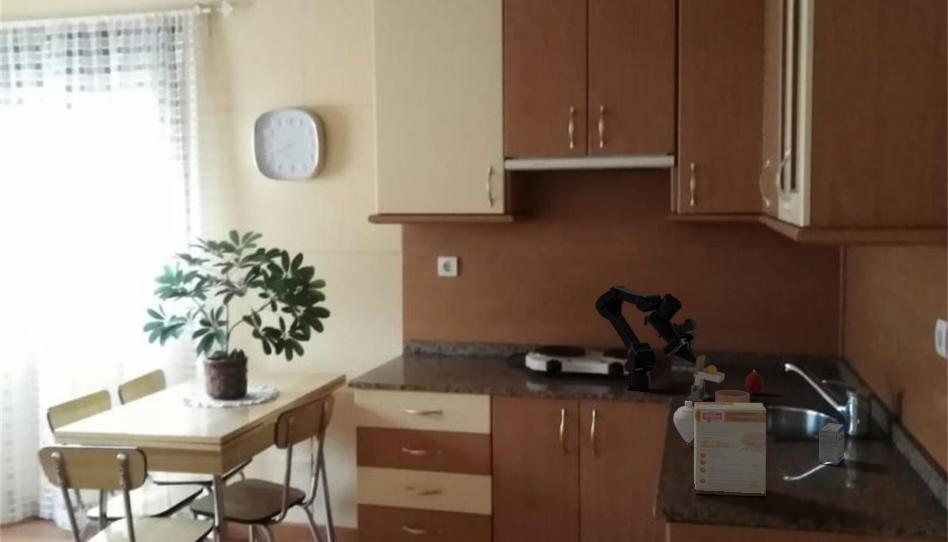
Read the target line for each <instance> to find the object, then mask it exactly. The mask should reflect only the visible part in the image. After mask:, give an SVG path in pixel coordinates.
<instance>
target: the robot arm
mask: <svg viewBox="0 0 948 542" xmlns="http://www.w3.org/2000/svg"><path fill="white" fill-rule="evenodd" d="M625 302H627V303H628V304H632V305H634V306H635V308H636V309H637V310H638V311H640V312H641V313H650V314H649V315H648V314H647V315H646V316H644V318H643V320H644V322H643V325H644V326H645V327H646V326H648V325H650V326H651V327H652V328H653V329H654V330H655V331H656V333H657V334H659V335H658V338H659V339H663V340H664V341H665V342H666V344H665V345H664V346H663V347H662V353H663V355H665V357H669V356H670V355H671V353H672V352H673V351H675V352H674V353H673V356H676V357H679V358H681V359H683V360H685V361H688V362H690V363H692V364H694V365H696V360H697V357H698V356H697V354H696V353H695V351H694V350H693V346H692V345H693V342H694V340H695V339H696V338H697V337H698V336H697V335H696V333H694V330H696V329H698V326H697V323H698V322H697V321H696V320H695V319H693V318H692V317H689V318H686V319H684V323H681V324H678V323H677V322H672V319H674V317H675V316H676V315H677V313H679V311H680V310H681V309H682V305H683V304H682V302H681V301H680V300H679V299H678V298H677V297H676V296H673V295H672V293H665V294H664V295H663V298H662V296H661V295H660V294H656V293H642V292H639V291H637V290H634V289H630V288H628V287H626V286H623V285H618V286H617V285H615V286H612V287H611V288H609V290H608V291H606V292H605V293H603V294H601V295H600V296H599V297H598V298H597V300H596V301H595V304H594V306H595V309H596V311H597V313H598V314H599V315H600V316H601V317H602V318H603V319H606V320H607V321H609V322H610V324H611V325H612V327H613V328H614V331H615V332H616V334H617V335H618V337H619V338H620V340H621V341H622V343H623V344H624V346H625V348H626V349H627V356H626V357H627V360H626V361H625V363H624V364H623V367H624V371H625V372H627V373H628V387H627V388H626V390H627V391H635V392H636V391H637V392H638V391H639V392H646V391H648V390H650V389H651V388H652V386H651V385H652V379H651V378H652V377H651V375H650V372H654V369H655V366H656V362H657V361H656V360H657V358H656V354H655V352H654V351H655V350H654V349H653V348H652V347H651V345H650V343H649V342H641V341H640V340H639V338H638V336H637V334H636V333H635V331H634V329H632V327H631V326H630V324H629V323H628V321H627V319H626V317H625V316H624V315H623V313H622V311H623V304H625Z"/></svg>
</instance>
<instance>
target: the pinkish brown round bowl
mask: <svg viewBox="0 0 948 542" xmlns="http://www.w3.org/2000/svg"><path fill="white" fill-rule="evenodd" d="M714 402H727V403H751V394H750V392H747V391H743V390H737V389H722V390H716V391H715V392H714Z"/></svg>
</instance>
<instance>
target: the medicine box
mask: <svg viewBox="0 0 948 542" xmlns="http://www.w3.org/2000/svg"><path fill="white" fill-rule="evenodd" d="M818 442H819V444H818V445H819V447H818V450H819V451H818V453H819V454H818V455H819V456H818V461H823V462H833V463H838V462H839V461H840V460H841V458H842V457H843V456H844V457H845V425H844V424H841V423H833V422H831V423H828V422H827V423H826V424H824V426H823V427H822V428H821V429H819V440H818Z"/></svg>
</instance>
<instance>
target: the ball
mask: <svg viewBox="0 0 948 542" xmlns="http://www.w3.org/2000/svg"><path fill="white" fill-rule="evenodd" d="M705 369H706V373H709V374H713V375H716V373H717V372H718V369H717V367H716V366H715V365H712V364H711V365H710V364H709V365H708V366H706V368H705Z"/></svg>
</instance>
